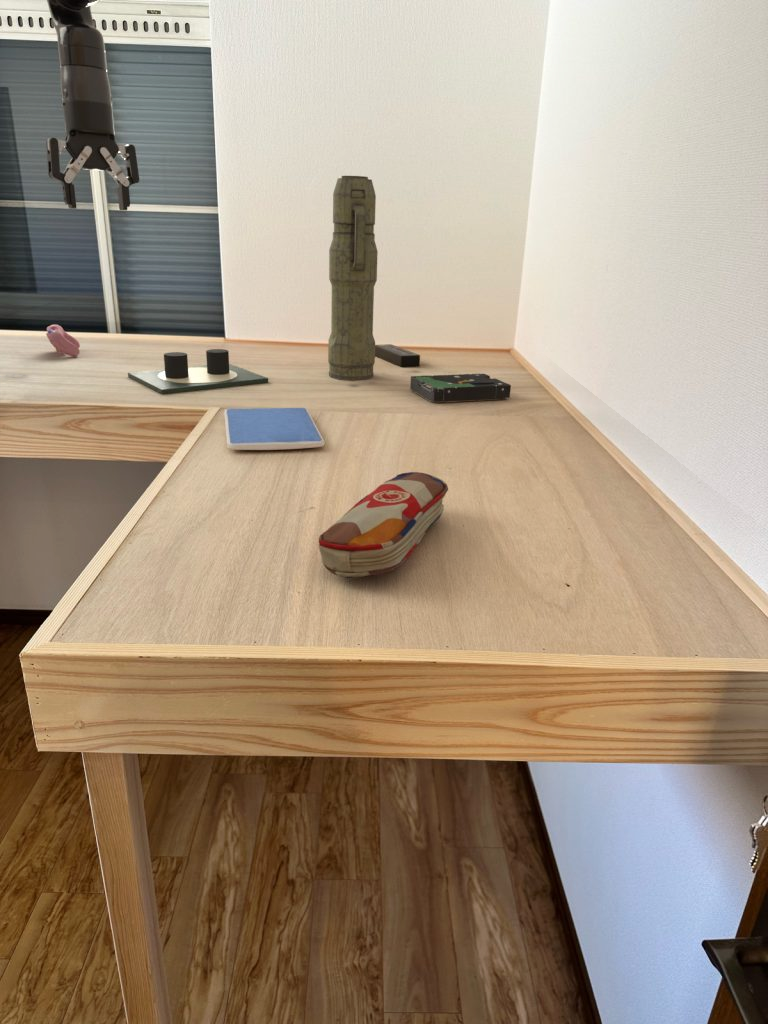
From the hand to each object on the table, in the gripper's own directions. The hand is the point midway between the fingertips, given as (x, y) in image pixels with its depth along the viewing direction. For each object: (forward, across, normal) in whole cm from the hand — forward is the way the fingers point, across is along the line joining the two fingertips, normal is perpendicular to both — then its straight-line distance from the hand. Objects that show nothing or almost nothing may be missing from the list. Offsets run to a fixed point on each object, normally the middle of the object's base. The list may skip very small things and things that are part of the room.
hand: (98, 209), depth 124 cm
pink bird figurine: (+28, +2, -25) cm, 38 cm away
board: (+28, -11, +12) cm, 32 cm away
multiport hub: (+28, -56, +13) cm, 64 cm away
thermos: (+28, -38, +22) cm, 52 cm away
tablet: (+28, -5, +49) cm, 57 cm away
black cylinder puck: (+27, -15, +12) cm, 33 cm away
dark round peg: (+27, -7, +12) cm, 30 cm away
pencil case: (+28, +4, +88) cm, 93 cm away
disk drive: (+28, -45, +45) cm, 70 cm away
